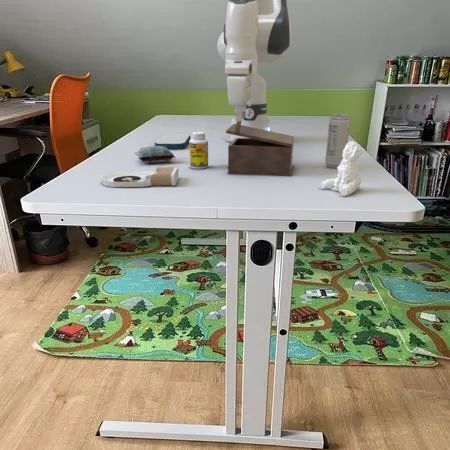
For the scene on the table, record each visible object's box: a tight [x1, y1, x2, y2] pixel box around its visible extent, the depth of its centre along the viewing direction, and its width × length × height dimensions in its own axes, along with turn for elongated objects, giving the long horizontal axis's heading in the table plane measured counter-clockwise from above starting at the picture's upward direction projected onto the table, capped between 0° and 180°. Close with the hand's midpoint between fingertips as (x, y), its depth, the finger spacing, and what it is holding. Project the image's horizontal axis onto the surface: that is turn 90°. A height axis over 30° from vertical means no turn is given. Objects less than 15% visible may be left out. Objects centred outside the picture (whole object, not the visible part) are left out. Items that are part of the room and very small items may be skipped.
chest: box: [227, 138, 295, 177], centre depth 135 cm, size 18×14×8 cm
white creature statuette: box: [320, 140, 366, 197], centre depth 113 cm, size 10×9×12 cm
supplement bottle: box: [188, 131, 209, 170], centre depth 137 cm, size 6×6×10 cm
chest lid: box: [225, 112, 295, 147], centre depth 131 cm, size 19×14×5 cm
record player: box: [101, 166, 180, 188], centre depth 123 cm, size 12×3×20 cm
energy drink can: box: [324, 113, 351, 169], centre depth 137 cm, size 6×6×15 cm
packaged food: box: [133, 145, 176, 164], centre depth 146 cm, size 9×12×5 cm
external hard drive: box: [154, 133, 191, 149], centre depth 175 cm, size 24×12×2 cm, turn 178°
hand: (240, 119), depth 131 cm, fingers closed on chest lid, 5 cm apart
